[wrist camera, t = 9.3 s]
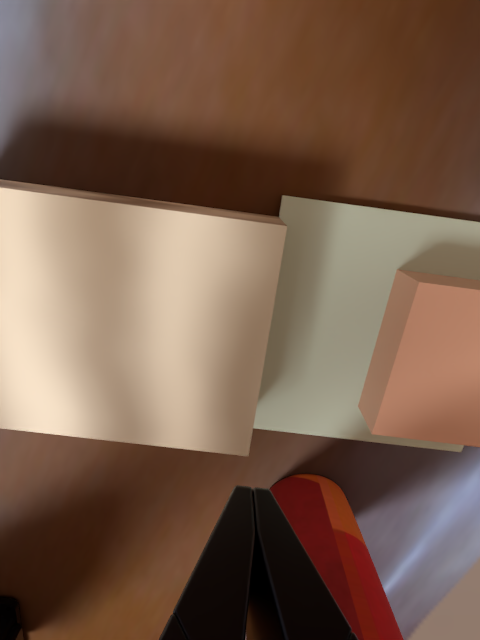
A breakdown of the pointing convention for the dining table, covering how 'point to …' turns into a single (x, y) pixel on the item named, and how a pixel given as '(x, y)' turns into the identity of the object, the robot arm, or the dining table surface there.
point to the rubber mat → (345, 308)
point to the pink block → (427, 362)
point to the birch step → (133, 317)
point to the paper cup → (338, 552)
